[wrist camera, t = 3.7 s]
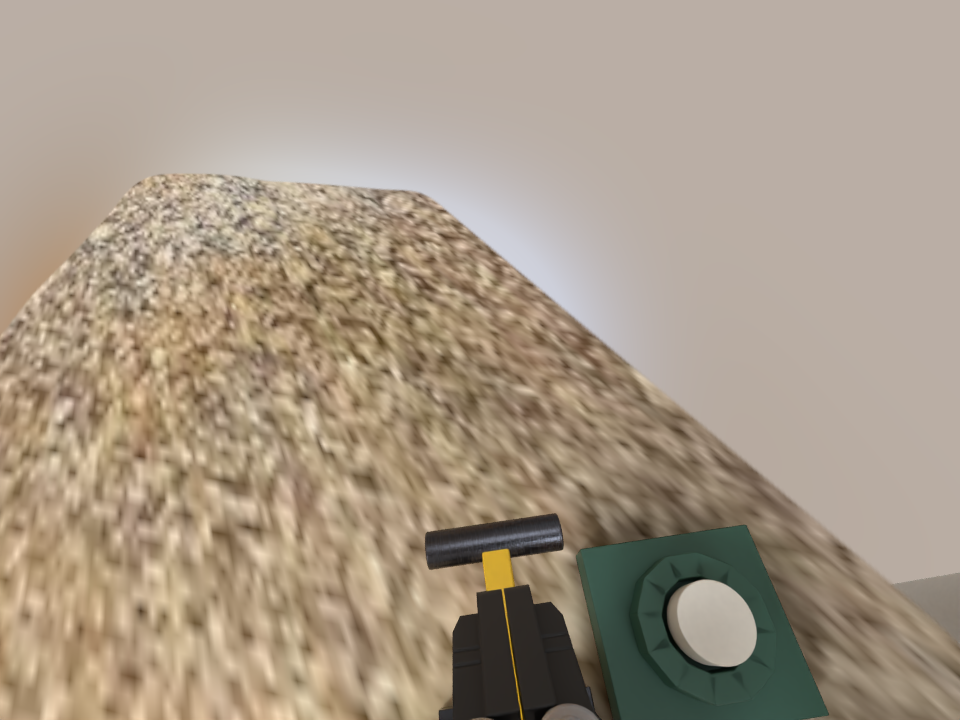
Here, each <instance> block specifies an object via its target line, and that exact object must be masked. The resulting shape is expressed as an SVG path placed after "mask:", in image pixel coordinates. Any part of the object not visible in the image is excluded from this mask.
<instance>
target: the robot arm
mask: <svg viewBox="0 0 960 720" xmlns="http://www.w3.org/2000/svg"><path fill="white" fill-rule="evenodd" d="M504 595H505V602H506V610H507V617H508V625H509V632H510V639H511V646H512V653H513V660H514V666H515V673H516V679H517V686H518V692H519V698H520V705H521V711H522V718H523V720H602V719H601V718H600V717H599V716H598V715H597V714H596V712H595V711H594V709H593V707H592V705H591V702H590V700H589V696H588V693H587V690H586V687H585V684H584V681H583V677H582V674H581V671H580V668H579V665H578V662H577V659H576V655H575V652H574V649H573V647H572V643H571V640H570V636H569V634H568V630H567V627H566V624H565V621H564V618H563V615H562V614H561V613H560V611H559V610H558V609H557V608H556V607H555V606H554V605H553V604H552V603H551V602H547V603H540V604H533V600H532V596H531V591H530V587H529V585H522V586H516V587H509V588H504ZM477 607H478V614H471V615H465V616H460V618H459V620H458V622H457V624H456V626H455V628H454V631H453V720H521V713H520V706H519V700H518V693H517V687H516V680H515V674H514V667H513V661H512V654H511V648H510V641H509V634H508V628H507V621H506V615H505V608H504V602H503V595H502V589H497V590H491V591H484V592H478V593H477Z"/></svg>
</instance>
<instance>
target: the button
mask: <svg viewBox="0 0 960 720" xmlns="http://www.w3.org/2000/svg"><path fill="white" fill-rule="evenodd" d="M667 623H668V627H669V630H670V633H671V635H672V637H673V639H674V641H675V642H676V644H677V645H678V646H679V648H680V649H681V650H682V651H683V652H684V653H685V654H686V655H687V656H689V657H690V658H691V659H693V660H695V661H697V662H699V663H701V664H704V665H710V666H723V667H732V666H736V665H739V664H741V663H743V662H744V661H746V660H747V659H748V658H749V657H750V655H751V654H752V652H753V650H754V648H755V645H756V639H757V630H756V624H755V620H754V617H753V615H752V612H751V610H750V609H749V607H748V605H747V604H746V602H745V601H744V600H743V599H742V597H741V596H740V595H739V594H738V593H737V592H736V591H734V590H733V589H732V588H730V587H729V586H727V585H725V584H723V583H721V582H718V581H714V580H698V581H695V582H692V583H689V584H687V585H684V586H682V587H680V588H679V589H677V590H676V591H675V592H674V593H673V595H672V596H671V598H670V600H669V602H668V606H667Z"/></svg>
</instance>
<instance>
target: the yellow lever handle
mask: <svg viewBox="0 0 960 720" xmlns="http://www.w3.org/2000/svg"><path fill="white" fill-rule="evenodd" d="M563 546H564V543H563V535H562V529H561V525H560V521H559V518H558V516H557V514H555V513H554V514H547V515H540V516H534V517H527V518H520V519H513V520H506V521H499V522H493V523H486V524H479V525H472V526H465V527H459V528H452V529H445V530H438V531H431V532H427V533H426V535H425V551H426V560H427V565H428V568H429V569H430V570H433V569H439V568H446V567H453V566H459V565H466V564H473V563H479V562H483V568H484V576H485V584H486V591H491V590H497V589H502V595H503V602H504V608H505V615H506V621H507V628H508V634H509V641H510V648H511V654H512V661H513V667H514V674H515V680H516V687H517V693H518V700H519V706H520V713H521V720H523V718H522V711H521V705H520V698H519V692H518V686H517V679H516V673H515V666H514V660H513V653H512V646H511V639H510V632H509V625H508V617H507V610H506V602H505V595H504V588H509V587H515V584H514V577H513V571H512V565H511V558H513V557H520V556H526V555H533V554H540V553H546V552H553V551H560V550H563Z"/></svg>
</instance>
